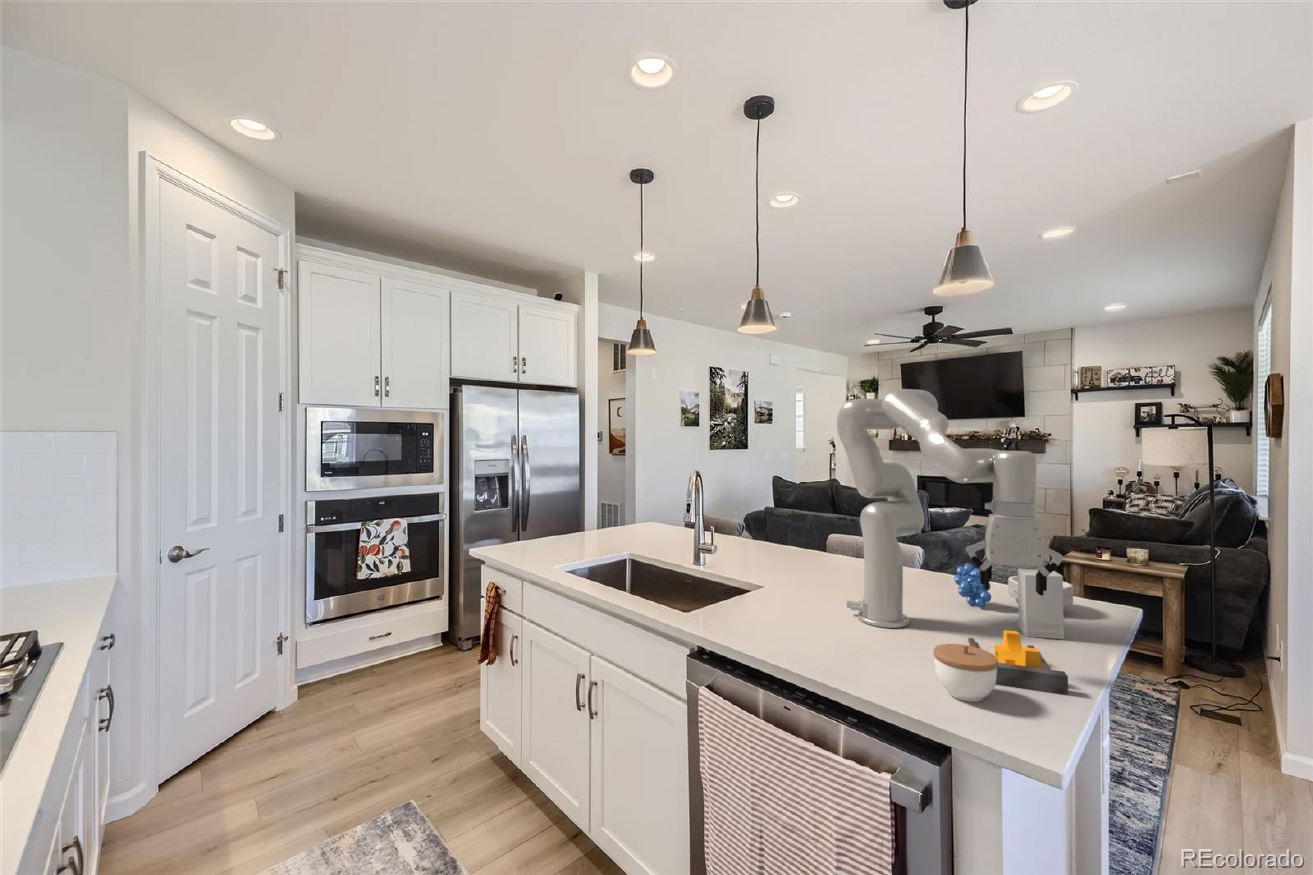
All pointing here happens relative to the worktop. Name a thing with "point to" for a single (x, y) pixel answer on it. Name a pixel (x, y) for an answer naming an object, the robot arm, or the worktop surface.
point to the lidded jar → (965, 671)
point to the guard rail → (1030, 676)
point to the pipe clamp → (1016, 651)
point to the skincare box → (1040, 605)
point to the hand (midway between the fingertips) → (1012, 590)
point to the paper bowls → (1066, 590)
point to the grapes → (972, 586)
